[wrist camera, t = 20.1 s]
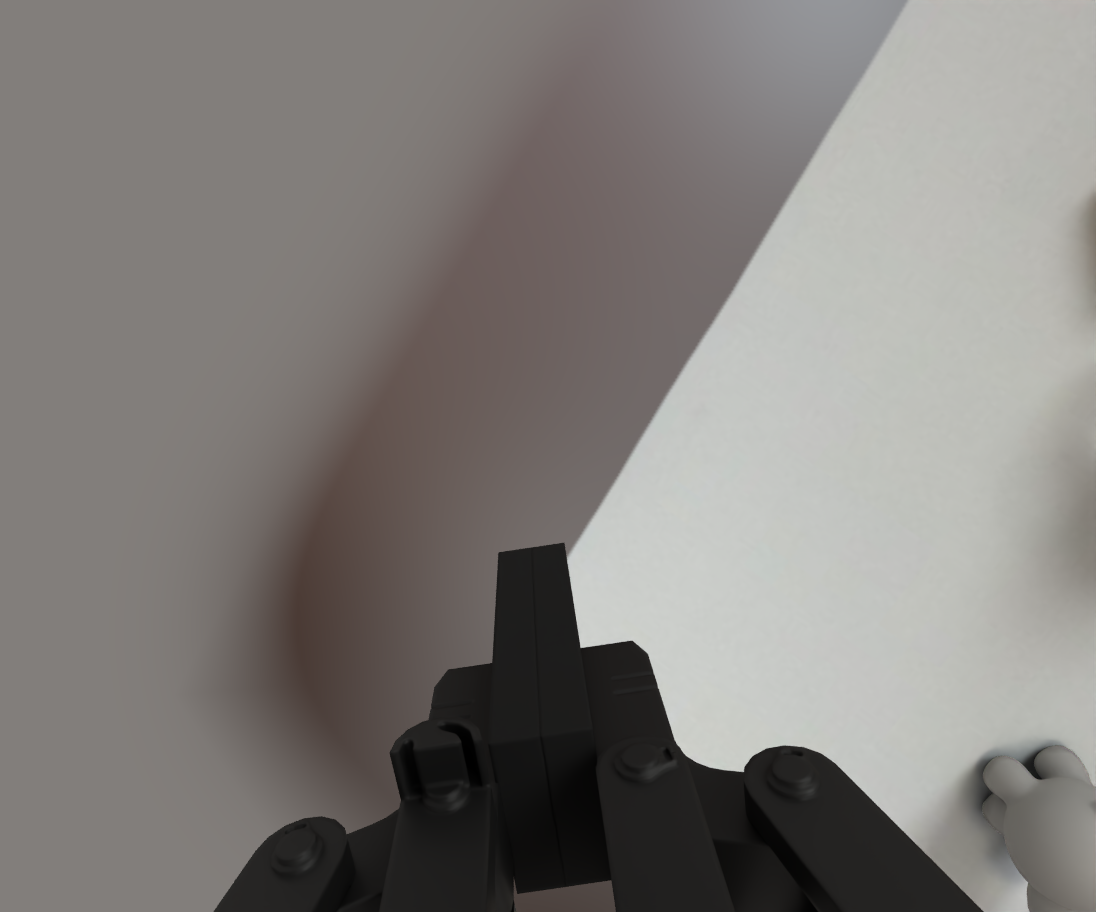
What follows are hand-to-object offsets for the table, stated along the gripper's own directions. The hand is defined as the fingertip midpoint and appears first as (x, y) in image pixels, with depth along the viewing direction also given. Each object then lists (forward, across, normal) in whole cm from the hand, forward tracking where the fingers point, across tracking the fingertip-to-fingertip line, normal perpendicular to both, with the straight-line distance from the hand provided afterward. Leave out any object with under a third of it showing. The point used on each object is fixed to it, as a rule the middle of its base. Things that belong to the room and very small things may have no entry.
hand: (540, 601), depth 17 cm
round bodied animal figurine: (+25, +28, -34) cm, 50 cm away
